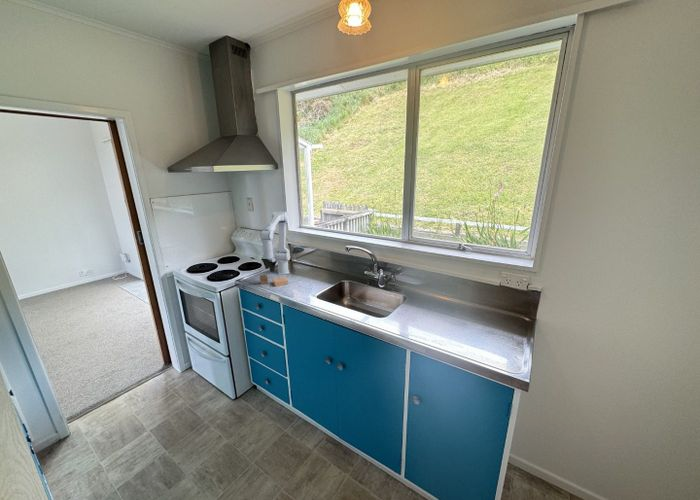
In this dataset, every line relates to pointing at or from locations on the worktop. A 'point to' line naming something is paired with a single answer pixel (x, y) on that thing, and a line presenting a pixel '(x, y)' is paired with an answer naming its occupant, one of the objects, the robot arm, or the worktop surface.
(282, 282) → the peach slab
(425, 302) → the worktop surface
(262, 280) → the walnut block
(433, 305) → the worktop surface
